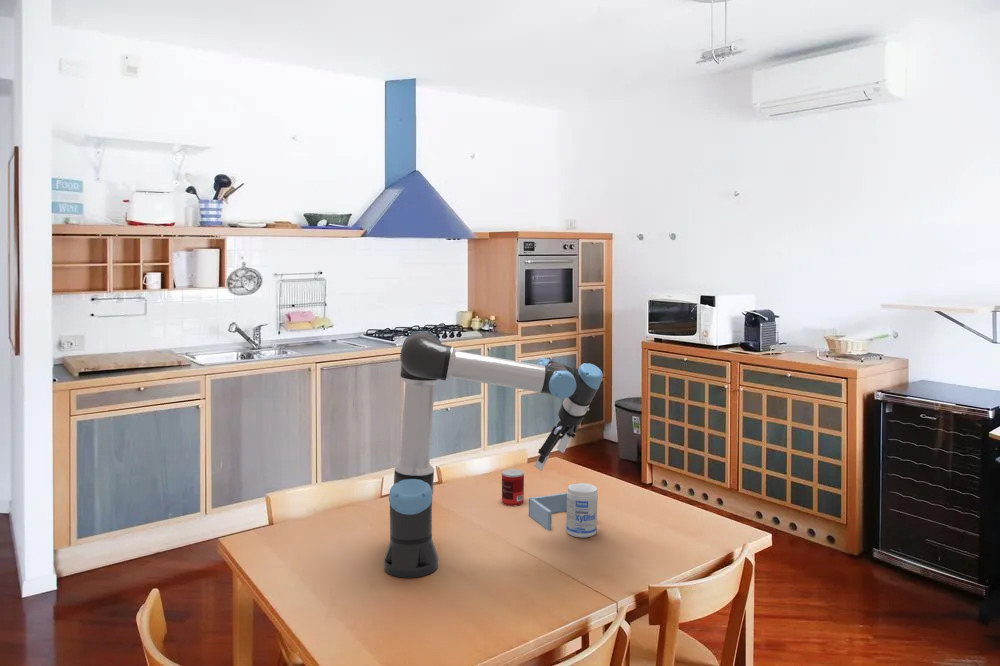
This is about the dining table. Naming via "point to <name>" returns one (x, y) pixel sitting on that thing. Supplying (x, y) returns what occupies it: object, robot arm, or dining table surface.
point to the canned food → (512, 487)
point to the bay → (547, 508)
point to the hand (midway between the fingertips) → (549, 459)
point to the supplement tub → (581, 510)
